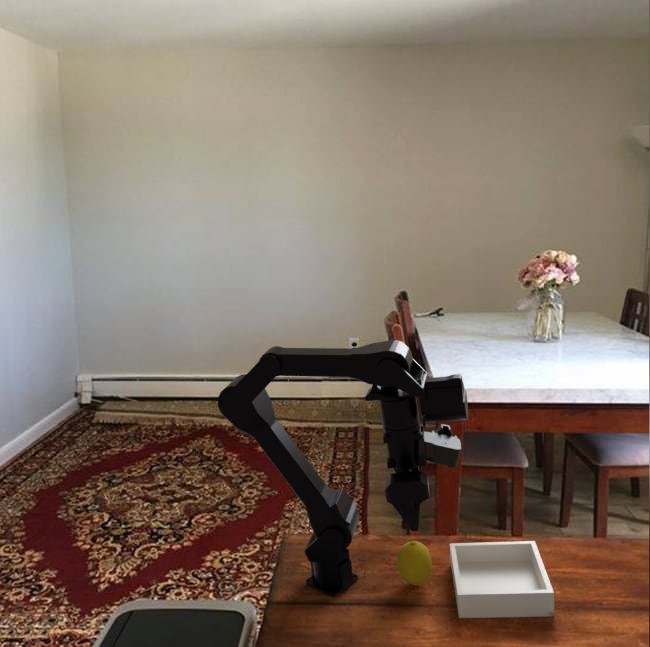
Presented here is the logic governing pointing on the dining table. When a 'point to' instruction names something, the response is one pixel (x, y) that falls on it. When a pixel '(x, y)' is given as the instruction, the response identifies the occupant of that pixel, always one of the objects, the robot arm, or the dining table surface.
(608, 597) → the dining table surface
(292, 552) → the dining table surface
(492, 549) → the box
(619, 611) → the dining table surface
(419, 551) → the lemon
